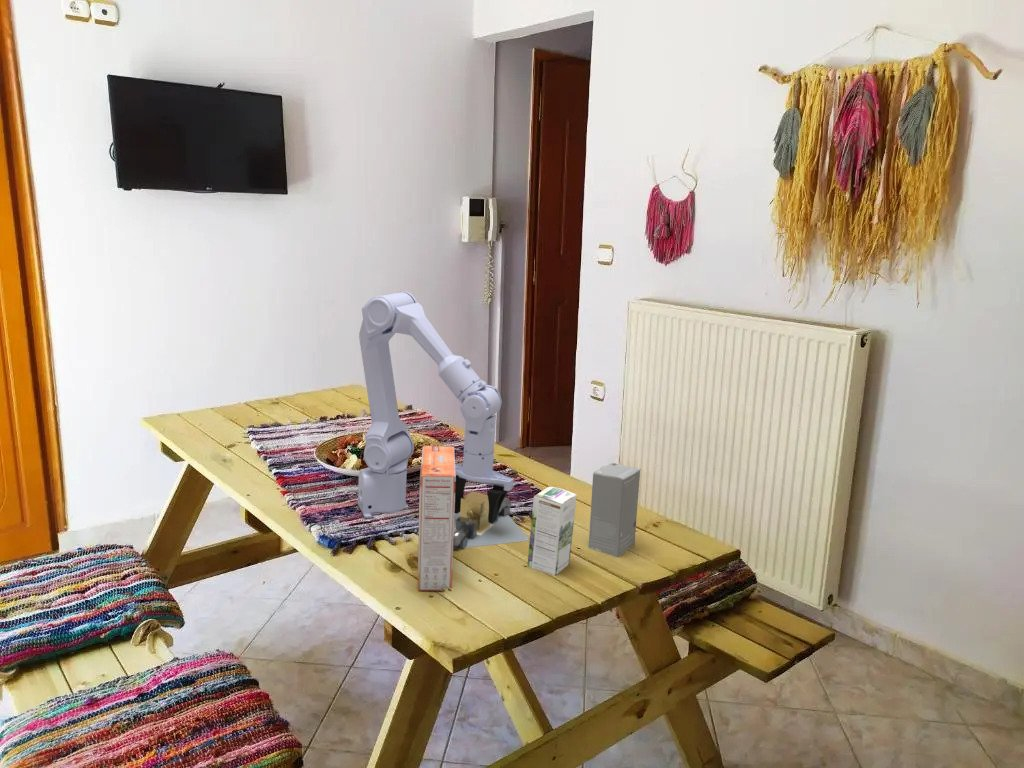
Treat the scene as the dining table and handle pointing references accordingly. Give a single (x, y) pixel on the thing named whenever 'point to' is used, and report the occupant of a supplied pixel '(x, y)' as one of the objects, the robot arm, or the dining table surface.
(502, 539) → the board
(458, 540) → the shaft
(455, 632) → the dining table surface
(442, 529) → the cracker box
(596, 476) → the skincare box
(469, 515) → the tan block
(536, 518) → the syrup box
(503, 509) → the shaft
